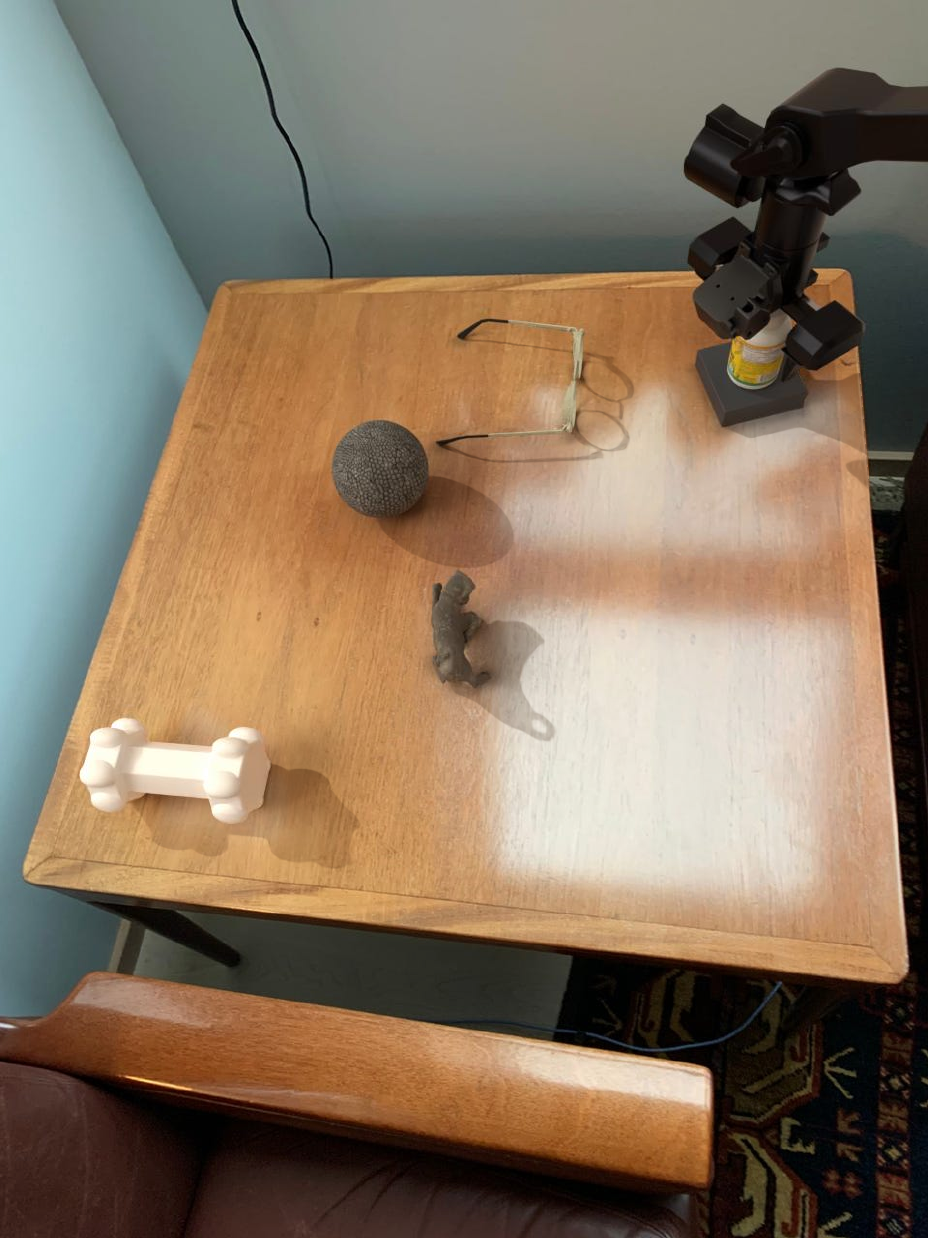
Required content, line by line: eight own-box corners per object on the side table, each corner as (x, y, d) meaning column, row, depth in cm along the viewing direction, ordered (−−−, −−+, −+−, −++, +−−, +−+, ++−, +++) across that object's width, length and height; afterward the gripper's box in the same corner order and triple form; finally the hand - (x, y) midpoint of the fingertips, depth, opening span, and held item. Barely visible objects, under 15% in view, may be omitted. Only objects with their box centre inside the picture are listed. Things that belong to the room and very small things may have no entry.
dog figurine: (491, 697, 83) (484, 667, 76) (432, 700, 83) (419, 671, 77) (488, 586, 88) (480, 549, 81) (431, 590, 89) (420, 553, 82)
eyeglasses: (571, 457, 94) (570, 428, 89) (434, 449, 96) (427, 420, 92) (585, 337, 101) (586, 305, 96) (458, 333, 103) (452, 301, 99)
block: (772, 346, 97) (777, 329, 95) (803, 407, 93) (808, 391, 91) (694, 365, 97) (697, 349, 95) (721, 427, 93) (725, 412, 91)
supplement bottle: (769, 396, 91) (789, 329, 82) (719, 383, 93) (733, 316, 84) (784, 358, 93) (805, 289, 84) (734, 347, 94) (750, 277, 86)
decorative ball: (405, 443, 97) (387, 383, 88) (452, 504, 93) (439, 447, 84) (328, 489, 96) (303, 432, 87) (373, 552, 91) (351, 499, 83)
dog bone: (279, 743, 83) (251, 715, 76) (260, 834, 80) (228, 813, 72) (135, 732, 86) (94, 703, 78) (110, 819, 82) (64, 798, 75)
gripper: (649, 212, 79) (638, 335, 93) (788, 333, 71) (754, 448, 85) (746, 158, 81) (721, 287, 95) (893, 271, 73) (842, 394, 87)
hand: (756, 352), depth 90 cm, fingers open, 9 cm apart
